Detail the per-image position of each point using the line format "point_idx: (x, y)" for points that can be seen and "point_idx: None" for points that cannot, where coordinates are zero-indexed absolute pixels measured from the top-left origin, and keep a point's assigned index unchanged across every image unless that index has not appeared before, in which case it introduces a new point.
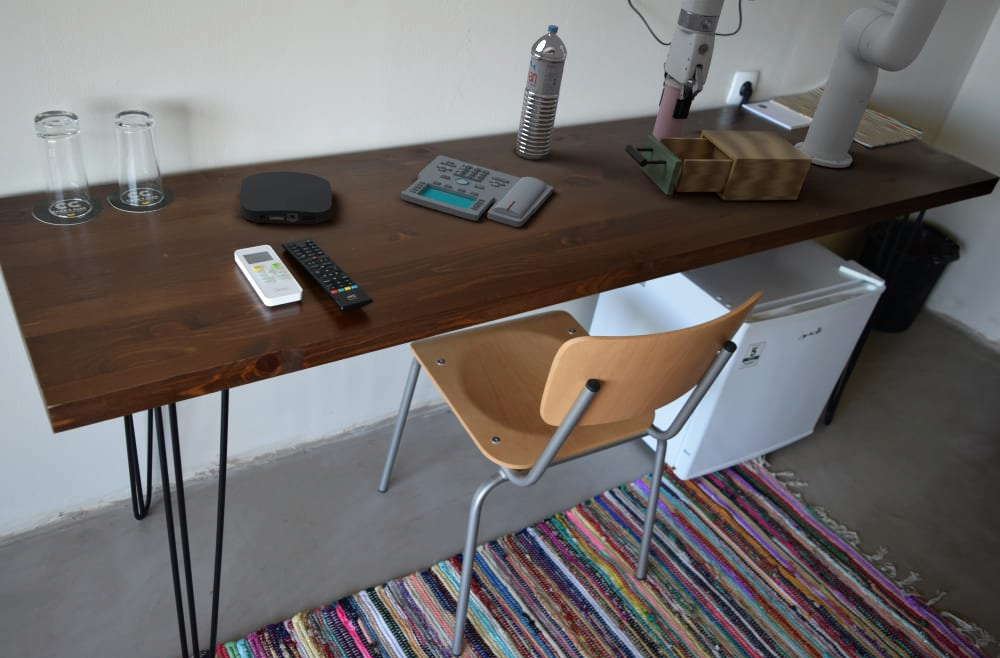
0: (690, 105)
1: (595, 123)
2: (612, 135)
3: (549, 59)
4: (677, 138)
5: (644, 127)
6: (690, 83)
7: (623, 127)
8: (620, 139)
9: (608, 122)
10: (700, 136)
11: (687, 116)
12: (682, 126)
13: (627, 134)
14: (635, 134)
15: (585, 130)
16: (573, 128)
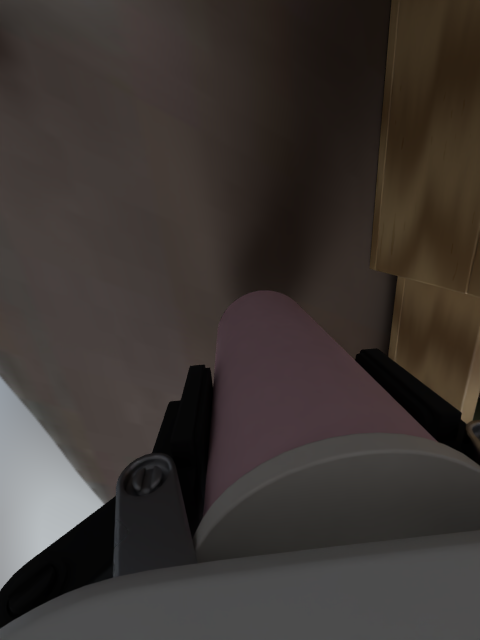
0: (424, 388)
1: (48, 433)
2: (132, 412)
3: None
4: (473, 408)
5: (23, 293)
6: (349, 485)
7: (52, 364)
8: (158, 399)
9: (23, 397)
10: (458, 291)
11: (381, 352)
12: (312, 319)
13: (112, 369)
14: (104, 345)
15: (114, 467)
16: (109, 489)
